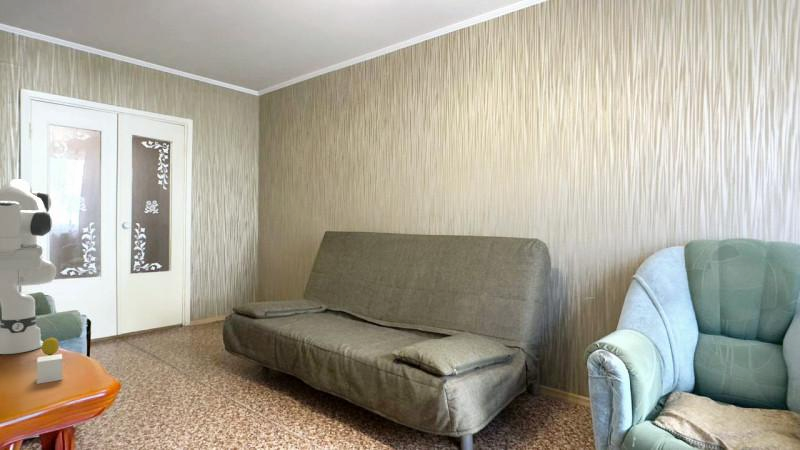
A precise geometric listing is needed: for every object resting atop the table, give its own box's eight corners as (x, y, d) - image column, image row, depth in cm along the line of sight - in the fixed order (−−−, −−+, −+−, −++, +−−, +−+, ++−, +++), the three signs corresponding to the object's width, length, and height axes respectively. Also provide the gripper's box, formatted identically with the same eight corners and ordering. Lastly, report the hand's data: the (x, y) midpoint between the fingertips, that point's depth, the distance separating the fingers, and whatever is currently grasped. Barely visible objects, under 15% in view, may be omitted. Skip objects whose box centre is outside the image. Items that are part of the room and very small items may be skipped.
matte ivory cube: (37, 378, 158) (37, 357, 158) (61, 374, 163) (62, 353, 163) (36, 383, 153) (37, 362, 153) (62, 379, 157) (62, 358, 157)
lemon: (44, 358, 180) (44, 339, 180) (40, 356, 184) (40, 337, 184) (60, 355, 185) (60, 336, 185) (56, 353, 188) (56, 334, 188)
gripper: (42, 243, 170) (42, 279, 170) (-31, 245, 157) (-32, 283, 157) (42, 244, 165) (41, 281, 165) (-34, 245, 152) (-34, 285, 152)
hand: (5, 282), depth 161 cm, fingers open, 8 cm apart
